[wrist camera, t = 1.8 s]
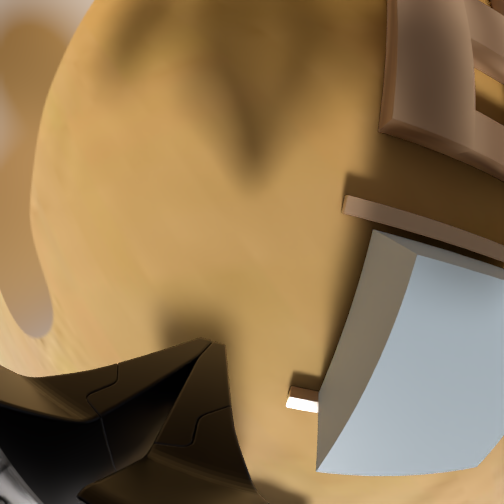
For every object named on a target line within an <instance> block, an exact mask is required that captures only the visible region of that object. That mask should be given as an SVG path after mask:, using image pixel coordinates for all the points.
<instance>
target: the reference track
mask: <svg viewBox="0 0 504 504" xmlns="http://www.w3.org/2000/svg"><path fill="white" fill-rule="evenodd" d="M342 213H343V214H347V215H351V216H355V217H359V218H363V219H366V220H370V221H374V222H378V223H381V224H385V225H389V226H392V227H396V228H399V229H403V230H406V231H410V232H413V233H417V234H420V235H423V236H427V237H430V238H433V239H437V240H440V241H443V242H446V243H449V244H452V245H456V246H459V247H462V248H465V249H468V250H471V251H474V252H477V253H479V254H482V255H485V256H488V257H491V258H494V259H496V260H499V261H502V262H504V245H501V244H499V243H496V242H494V241H491V240H489V239H486V238H483V237H481V236H478V235H475V234H473V233H470V232H467V231H464V230H462V229H459V228H456V227H453V226H450V225H447V224H444V223H441V222H438V221H435V220H432V219H429V218H426V217H423V216H420V215H417V214H413V213H410V212H407V211H403V210H400V209H397V208H393V207H390V206H386V205H383V204H379V203H376V202H372V201H368V200H365V199H361V198H357V197H353V196H349V195H345V198H344V202H343V207H342ZM318 399H319V391H314V390H309V389H304V388H299V387H294V386H291V388H290V391H289V393H288V396H287V403H286V407H289V408H294V409H299V410H304V411H310V412H315V413H318Z"/></svg>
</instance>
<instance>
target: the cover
mask: <svg viewBox="0 0 504 504" xmlns="http://www.w3.org/2000/svg"><path fill="white" fill-rule="evenodd" d="M503 435H504V269H503V268H500V267H497V266H494V265H491V264H488V263H485V262H482V261H479V260H476V259H473V258H470V257H467V256H464V255H461V254H458V253H454V252H451V251H448V250H445V249H441V248H438V247H435V246H431V245H428V244H425V243H421V242H418V241H414V240H411V239H407V238H404V237H400V236H397V235H393V234H389V233H386V232H382V231H378V230H374V229H373V232H372V236H371V240H370V244H369V248H368V251H367V255H366V259H365V262H364V266H363V270H362V273H361V276H360V280H359V283H358V287H357V290H356V293H355V296H354V299H353V303H352V306H351V309H350V312H349V315H348V318H347V321H346V324H345V326H344V329H343V332H342V335H341V338H340V340H339V343H338V346H337V349H336V351H335V354H334V356H333V359H332V362H331V364H330V367H329V369H328V372H327V374H326V377H325V379H324V381H323V384H322V386H321V389H320V391H319V399H318V440H317V461H316V472H323V473H333V474H345V475H362V476H404V475H421V474H433V473H442V472H449V471H456V470H463V469H468V468H474V467H477V466H478V465H479V464H480V463H481V462H482V461H483V459H484V458H485V457H486V456H487V455H488V454H489V453H490V451H491V450H492V449H493V448H494V447H495V445H496V444H497V443H498V442H499V441H500V439H501V438H502V437H503Z"/></svg>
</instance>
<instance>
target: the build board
mask: <svg viewBox="0 0 504 504" xmlns="http://www.w3.org/2000/svg"><path fill="white" fill-rule="evenodd" d="M490 2H491V5H492V8H493V9H492V8H490V7H489V6H487V5H485V4H484V3H482V2H480V1H479V0H387V39H386V59H385V74H384V85H383V95H382V104H381V113H380V121H379V128H378V132H381V133H385V134H388V135H391V136H394V137H398V138H401V139H404V140H407V141H410V142H413V143H415V144H418V145H421V146H424V147H427V148H429V149H432V150H434V151H437V152H440V153H442V154H445V155H447V156H450V157H452V158H454V159H457V160H459V161H461V162H464V163H466V164H468V165H470V166H473V167H475V168H477V169H479V170H481V171H483V172H485V173H487V174H489V175H491V176H493V177H495V178H497V179H499V180H501V181H503V182H504V126H503V125H501V124H500V123H498V122H496V121H495V120H493V119H491V118H489V117H487V116H486V115H484V114H482V113H480V112H478V111H476V110H475V75H474V68H476V69H478V70H480V71H481V72H483V73H485V74H487V75H488V76H490V77H492V78H494V79H495V80H497V81H498V82H500V83H502V84H503V85H504V0H490Z"/></svg>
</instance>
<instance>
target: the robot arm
mask: <svg viewBox="0 0 504 504" xmlns="http://www.w3.org/2000/svg"><path fill="white" fill-rule="evenodd" d="M0 504H269V503H268V502H267V501H266V500H265V499H264V498H263V497H262V496H261V495H260V494H259V493H258V492H257V490H256V488H255V486H254V484H253V482H252V480H251V478H250V475H249V472H248V469H247V467H246V464H245V461H244V458H243V455H242V452H241V449H240V446H239V443H238V440H237V436H236V432H235V428H234V422H233V416H232V408H231V398H230V388H229V377H228V366H227V354H226V346H225V345H224V344H221V343H218V342H212V341H211V340H208V339H204V338H197V339H194V340H191V341H188V342H185V343H182V344H179V345H176V346H173V347H170V348H167V349H164V350H161V351H157V352H154V353H151V354H148V355H144V356H141V357H138V358H134V359H131V360H127V361H124V362H120V363H118V364H113V365H109V366H106V367H101V368H97V369H93V370H88V371H82V372H77V373H70V374H63V375H55V376H47V377H27V376H22V375H19V374H17V373H15V372H13V371H11V370H9V369H7V368H5V367H3V366H1V365H0Z"/></svg>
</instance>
